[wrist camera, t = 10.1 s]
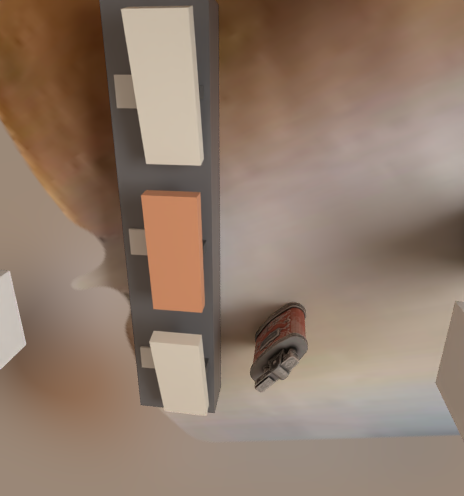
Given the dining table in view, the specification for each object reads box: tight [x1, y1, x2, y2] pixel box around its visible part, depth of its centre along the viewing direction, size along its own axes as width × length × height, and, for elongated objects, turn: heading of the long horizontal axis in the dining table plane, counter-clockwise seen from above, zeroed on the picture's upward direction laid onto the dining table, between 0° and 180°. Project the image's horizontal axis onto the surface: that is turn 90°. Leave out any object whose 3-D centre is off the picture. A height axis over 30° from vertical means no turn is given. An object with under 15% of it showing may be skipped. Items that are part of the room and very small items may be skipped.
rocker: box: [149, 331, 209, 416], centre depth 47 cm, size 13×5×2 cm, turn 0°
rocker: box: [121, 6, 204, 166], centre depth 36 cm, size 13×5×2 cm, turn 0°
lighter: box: [250, 302, 308, 392], centre depth 47 cm, size 8×3×10 cm, turn 139°
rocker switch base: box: [99, 0, 221, 413], centre depth 45 cm, size 50×10×7 cm, turn 0°
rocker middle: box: [141, 190, 205, 313], centre depth 41 cm, size 13×5×2 cm, turn 0°
